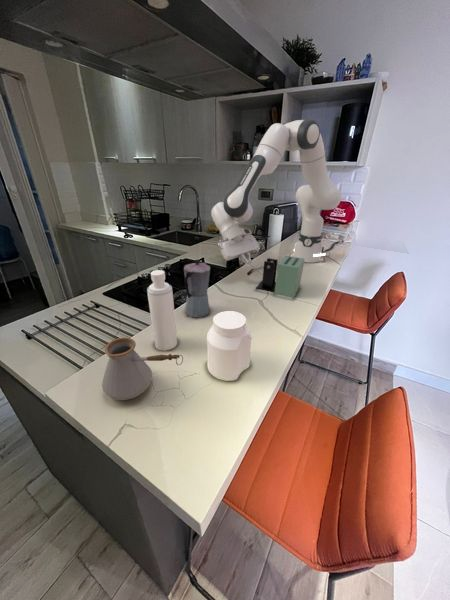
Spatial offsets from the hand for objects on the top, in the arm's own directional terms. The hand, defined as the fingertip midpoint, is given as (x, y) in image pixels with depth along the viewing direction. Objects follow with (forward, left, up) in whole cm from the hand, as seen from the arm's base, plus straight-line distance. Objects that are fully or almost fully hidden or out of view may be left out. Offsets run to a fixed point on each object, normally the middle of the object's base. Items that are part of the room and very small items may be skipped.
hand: (248, 263), depth 113 cm
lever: (0, +6, -2) cm, 7 cm away
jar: (+52, +15, -10) cm, 55 cm away
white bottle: (+52, -6, -10) cm, 54 cm away
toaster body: (0, +18, -10) cm, 21 cm away
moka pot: (+32, -7, -10) cm, 35 cm away
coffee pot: (+70, +1, -10) cm, 71 cm away
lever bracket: (0, +10, -10) cm, 14 cm away
